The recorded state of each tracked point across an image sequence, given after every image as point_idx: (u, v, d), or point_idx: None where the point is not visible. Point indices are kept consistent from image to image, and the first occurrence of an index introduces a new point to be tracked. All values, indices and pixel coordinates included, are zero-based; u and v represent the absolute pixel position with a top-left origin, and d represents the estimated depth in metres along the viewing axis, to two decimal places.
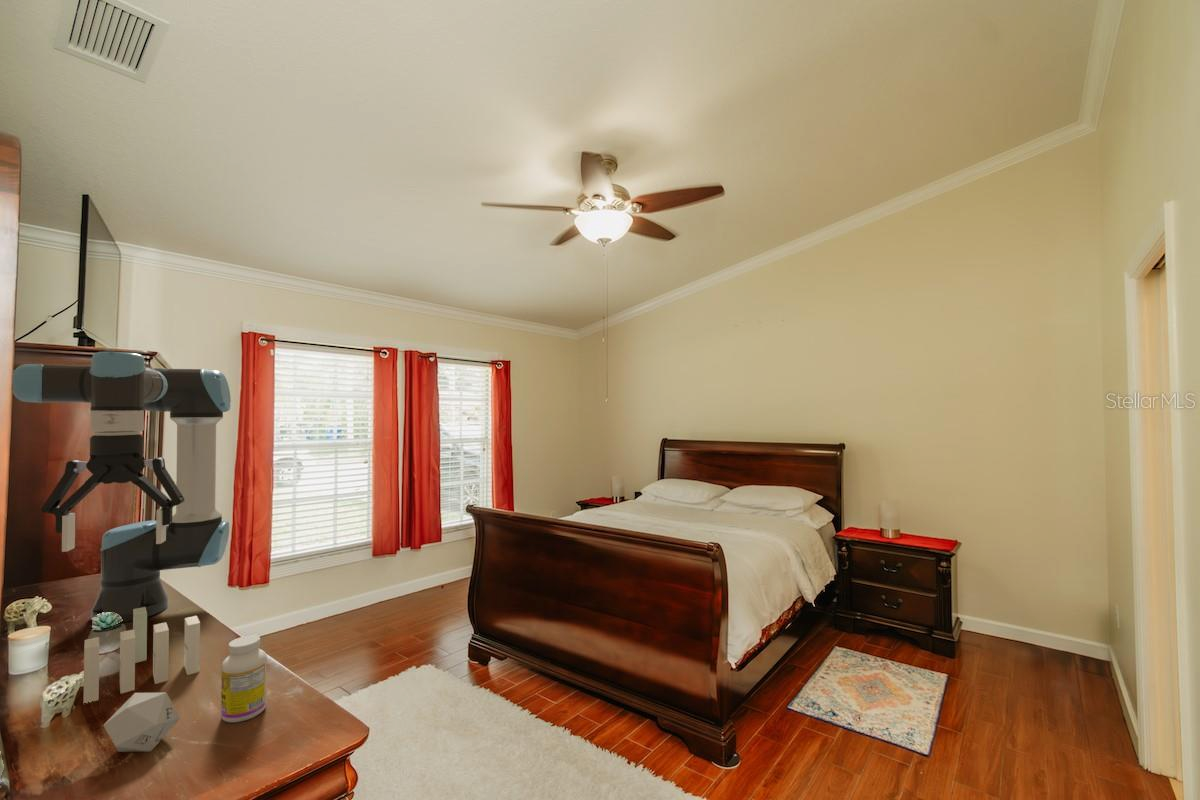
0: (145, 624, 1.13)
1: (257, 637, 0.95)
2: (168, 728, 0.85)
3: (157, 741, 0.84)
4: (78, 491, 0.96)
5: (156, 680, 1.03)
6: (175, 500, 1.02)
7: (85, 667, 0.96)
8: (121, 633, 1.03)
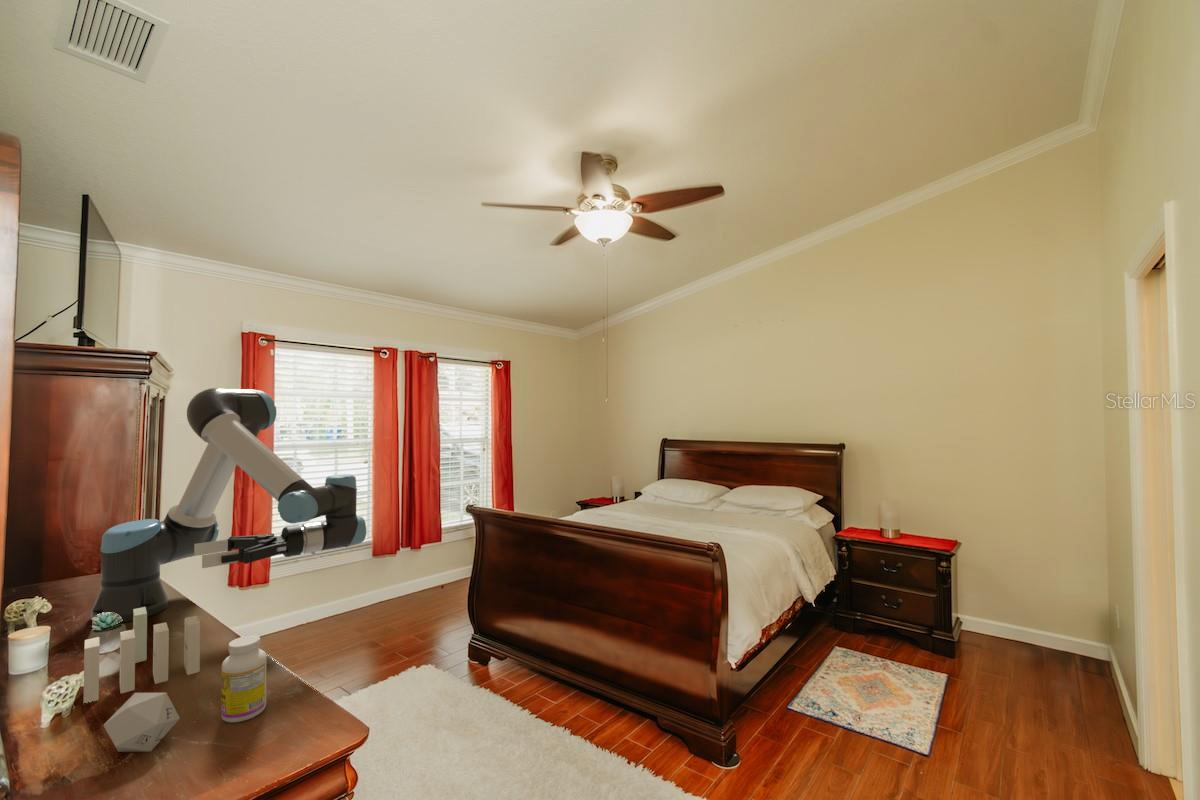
0: (145, 624, 1.13)
1: (257, 637, 0.95)
2: (168, 728, 0.85)
3: (157, 741, 0.84)
4: None
5: (156, 680, 1.03)
6: None
7: (85, 667, 0.96)
8: (121, 633, 1.03)
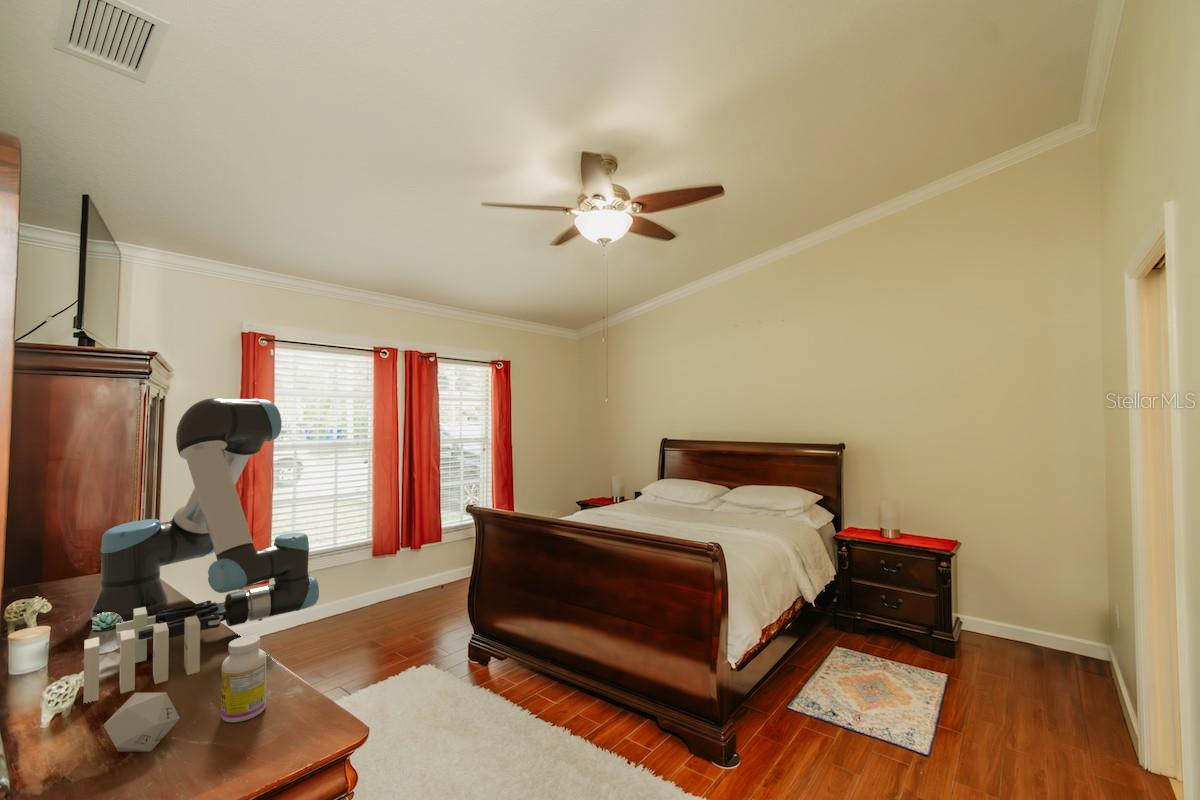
0: (145, 624, 1.13)
1: (257, 637, 0.95)
2: (168, 728, 0.85)
3: (157, 741, 0.84)
4: None
5: (156, 680, 1.03)
6: None
7: (85, 667, 0.96)
8: (121, 633, 1.03)
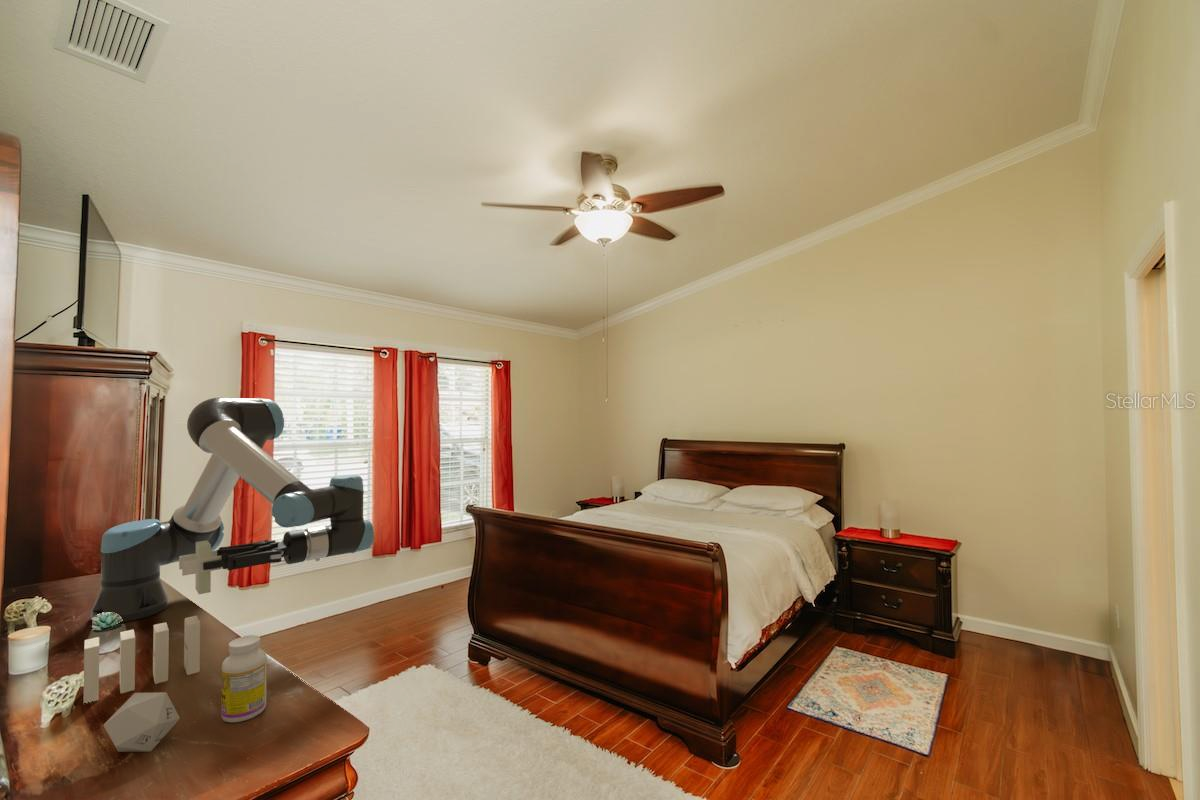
0: (209, 555, 1.11)
1: (257, 637, 0.95)
2: (168, 728, 0.85)
3: (157, 741, 0.84)
4: None
5: (156, 680, 1.03)
6: None
7: (85, 667, 0.96)
8: (121, 633, 1.03)
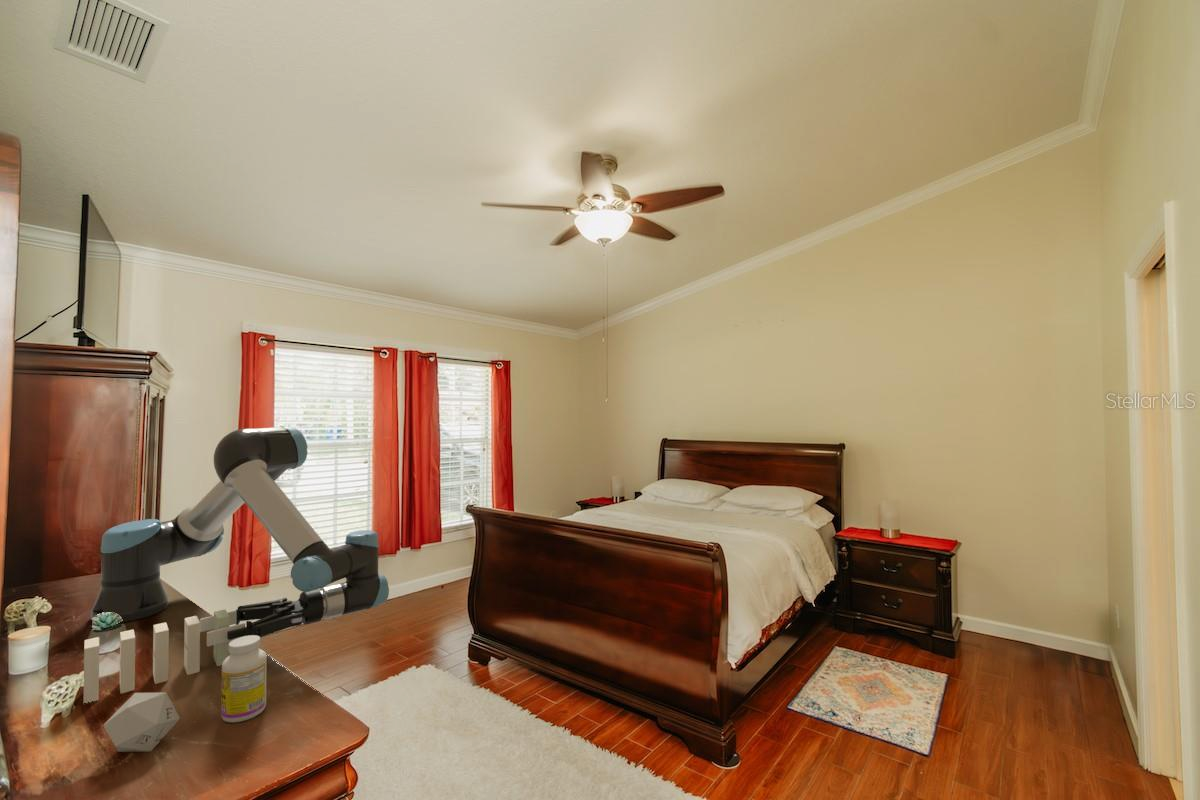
0: None
1: (257, 637, 0.95)
2: (168, 728, 0.85)
3: (157, 741, 0.84)
4: None
5: (156, 680, 1.03)
6: None
7: (85, 667, 0.96)
8: (121, 633, 1.03)
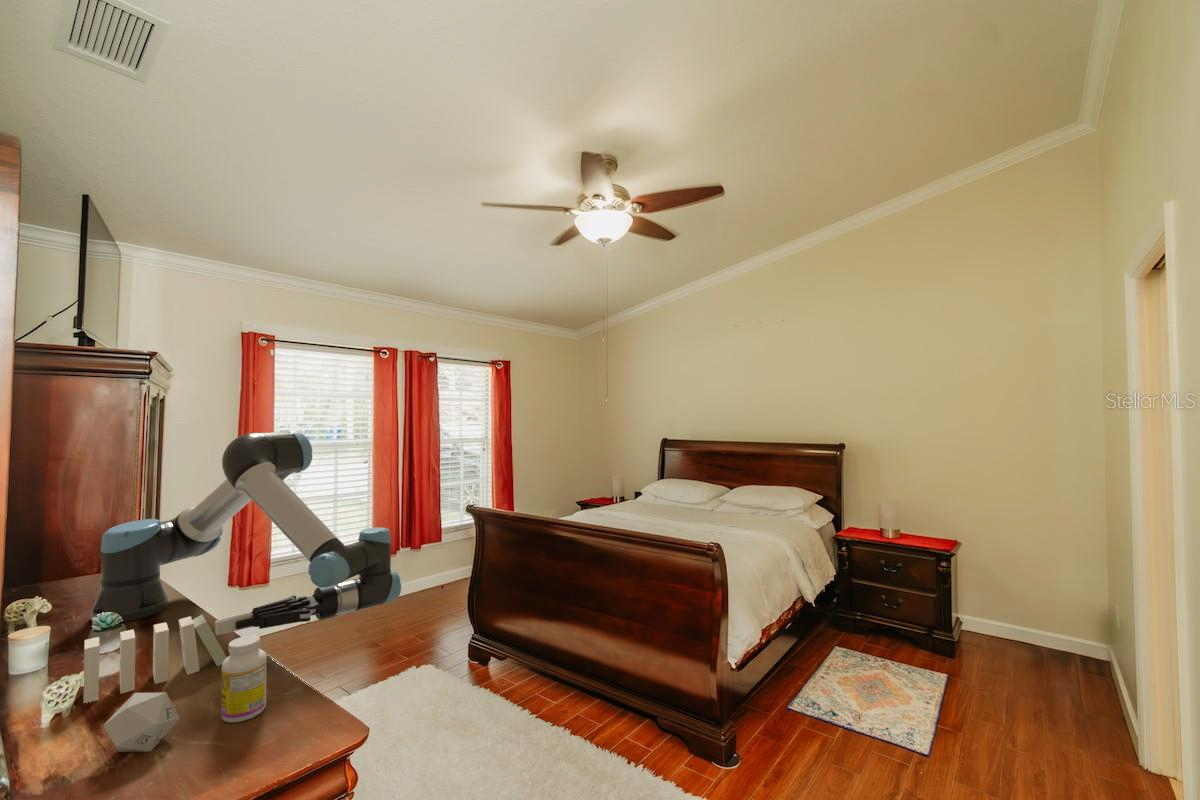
0: (209, 631, 1.09)
1: (257, 637, 0.95)
2: (168, 728, 0.85)
3: (157, 741, 0.84)
4: None
5: (156, 680, 1.03)
6: None
7: (85, 667, 0.96)
8: (121, 633, 1.03)
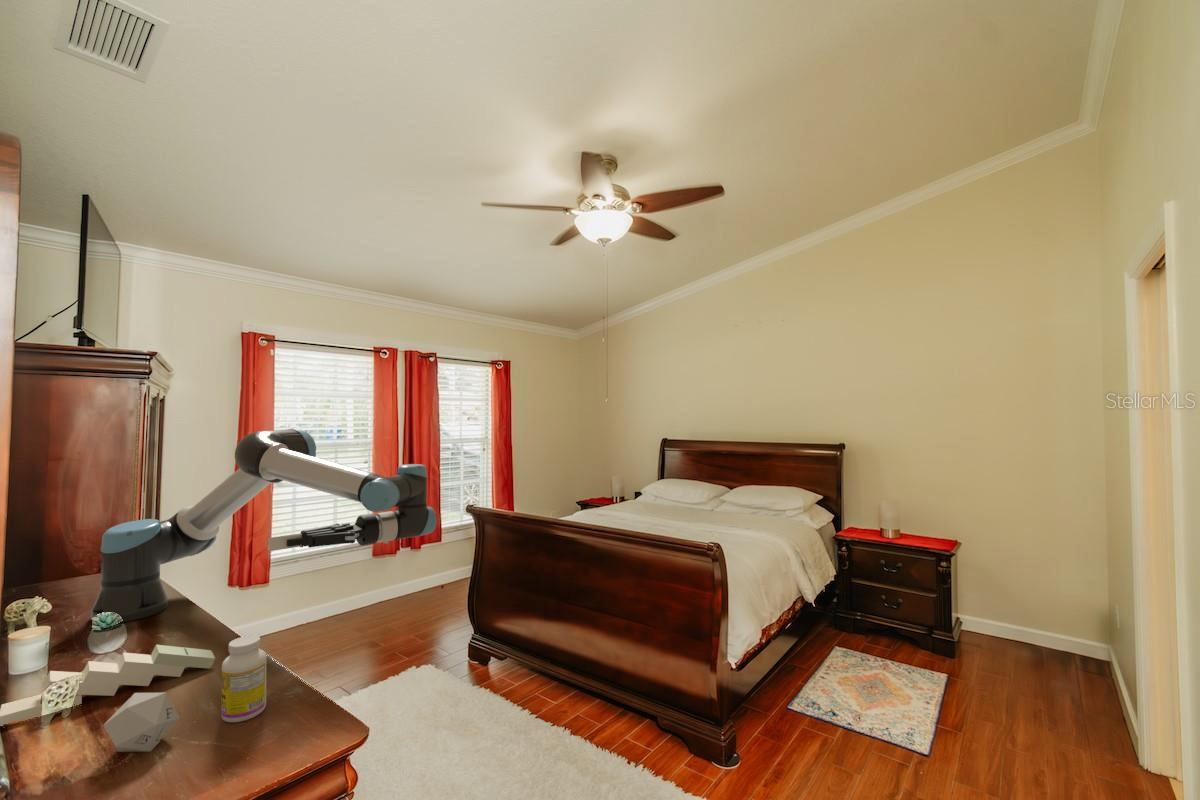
0: (171, 655, 1.05)
1: (257, 637, 0.95)
2: (168, 728, 0.85)
3: (157, 741, 0.84)
4: None
5: (145, 684, 1.02)
6: None
7: None
8: (43, 683, 0.95)
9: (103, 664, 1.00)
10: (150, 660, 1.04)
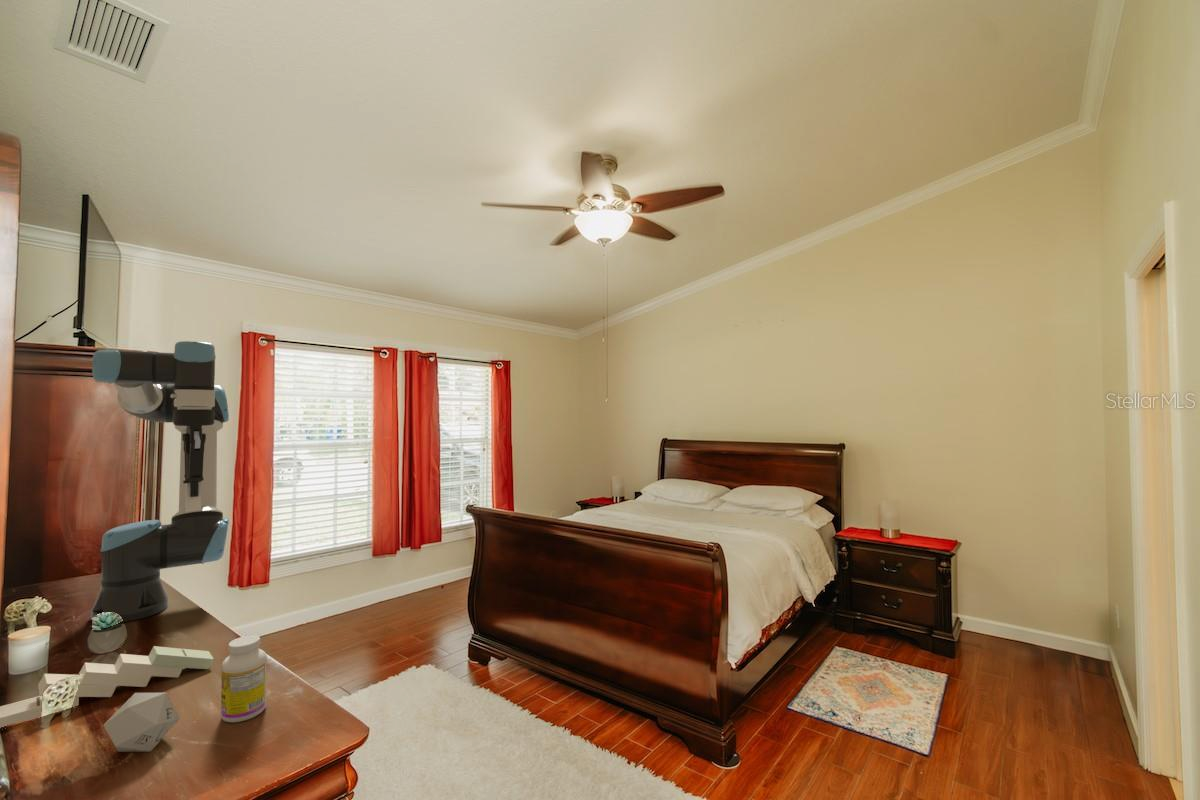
0: (170, 656, 1.04)
1: (257, 637, 0.95)
2: (168, 728, 0.85)
3: (157, 741, 0.84)
4: (186, 459, 1.22)
5: (142, 685, 1.02)
6: (188, 476, 1.18)
7: None
8: (38, 686, 0.94)
9: (100, 666, 1.00)
10: (148, 661, 1.03)
